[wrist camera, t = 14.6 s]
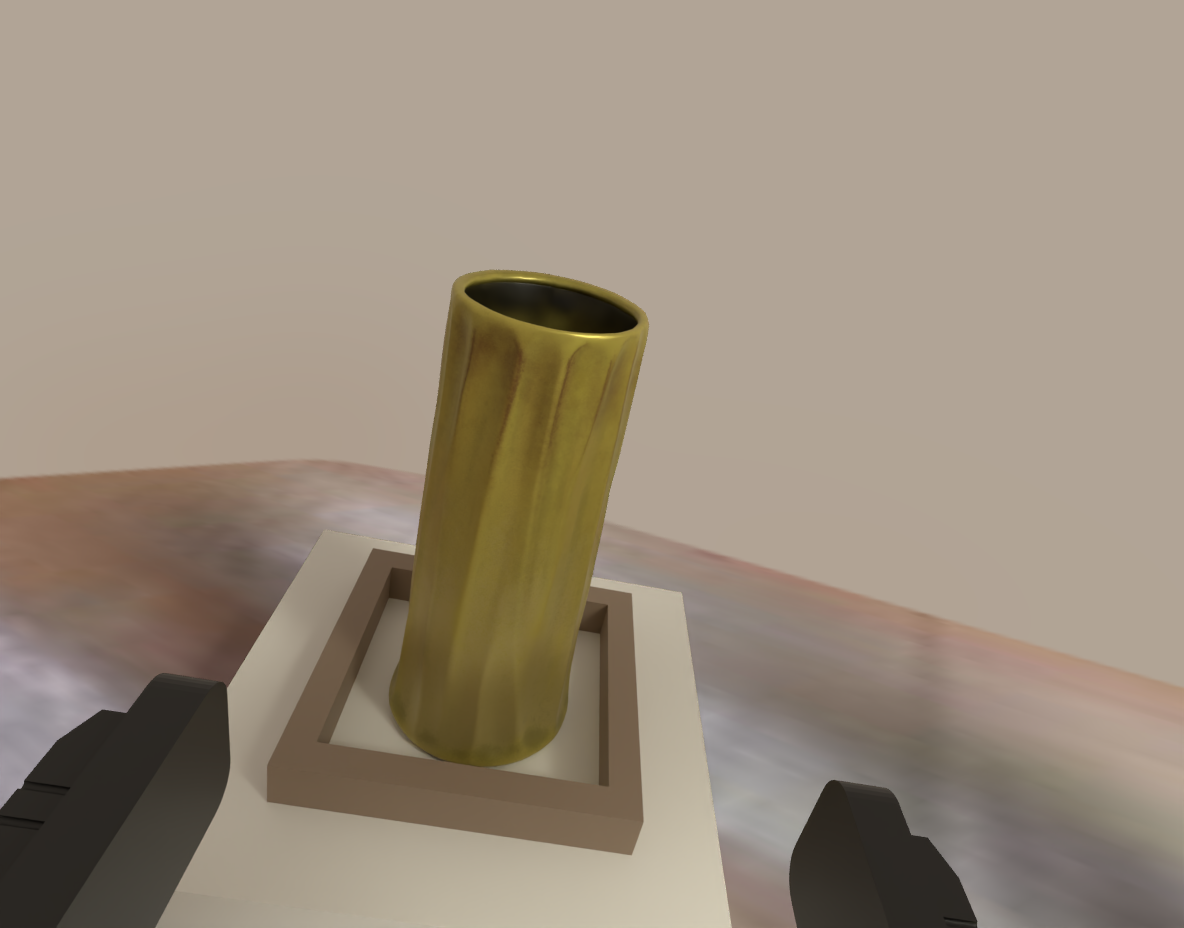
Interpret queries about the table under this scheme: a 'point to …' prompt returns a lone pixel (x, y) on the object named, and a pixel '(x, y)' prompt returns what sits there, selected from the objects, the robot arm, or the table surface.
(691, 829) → the display stand
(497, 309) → the vase
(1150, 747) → the table surface
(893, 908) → the robot arm
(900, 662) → the table surface
